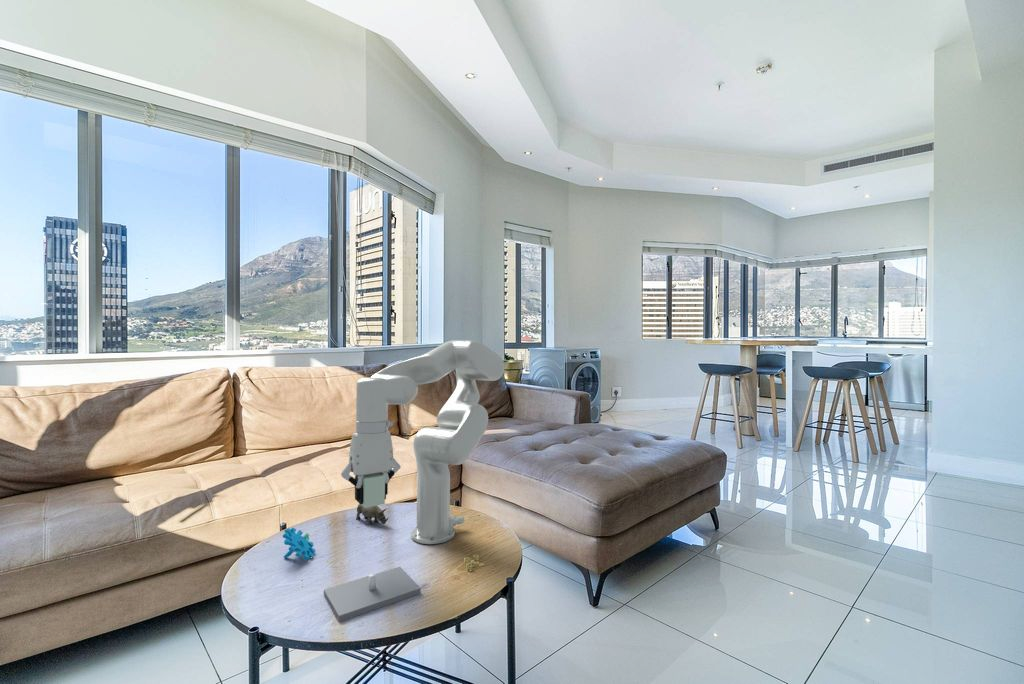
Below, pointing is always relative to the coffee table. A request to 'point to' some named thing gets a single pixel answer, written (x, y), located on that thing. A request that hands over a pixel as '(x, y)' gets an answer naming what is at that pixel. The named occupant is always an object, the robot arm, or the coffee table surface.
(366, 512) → the rhino figurine
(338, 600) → the pin plate
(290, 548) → the gear
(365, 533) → the coffee table surface
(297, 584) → the coffee table surface
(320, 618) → the coffee table surface
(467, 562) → the dice set
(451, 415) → the robot arm
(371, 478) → the block
